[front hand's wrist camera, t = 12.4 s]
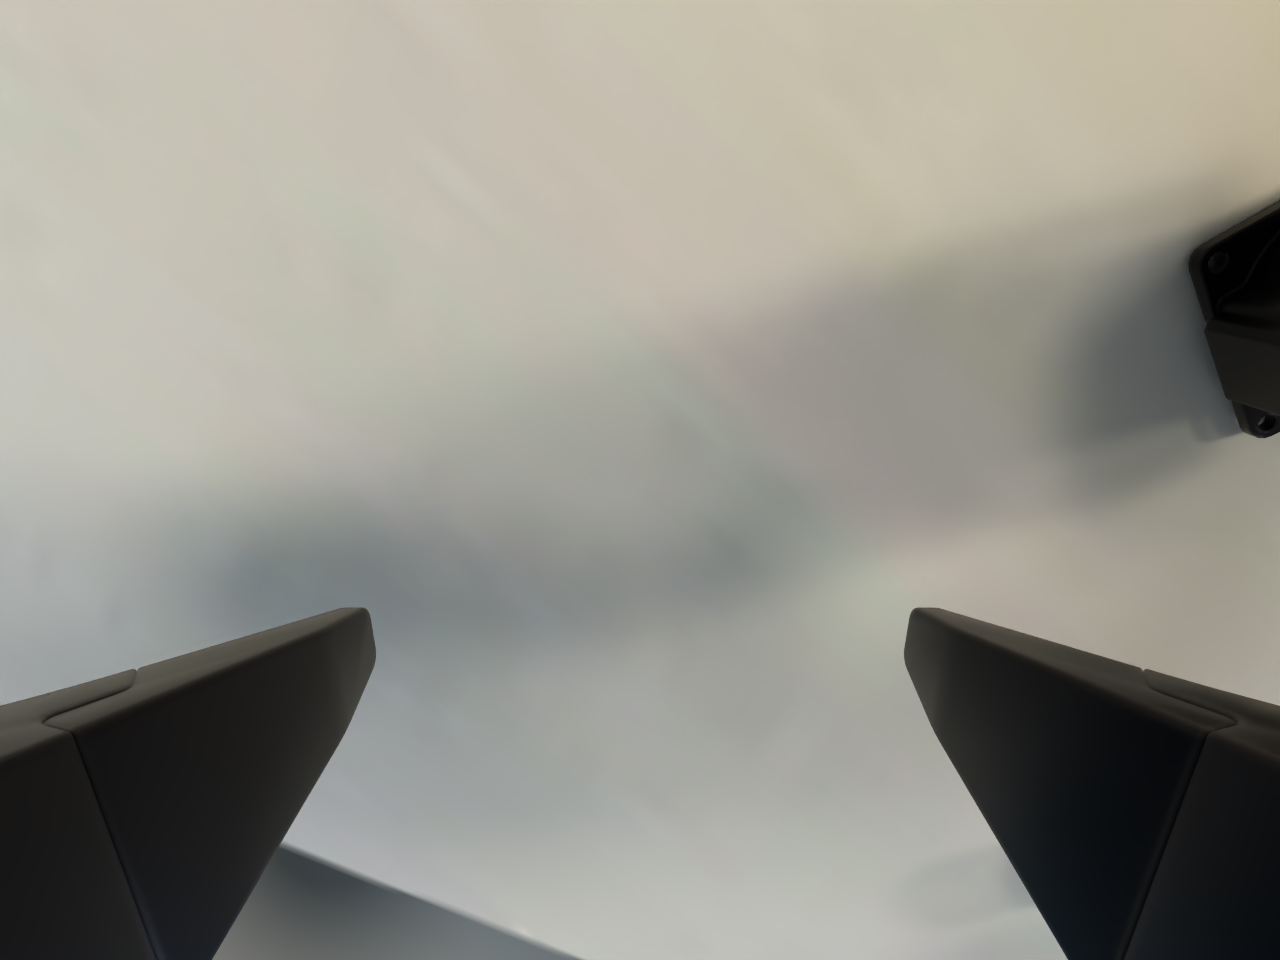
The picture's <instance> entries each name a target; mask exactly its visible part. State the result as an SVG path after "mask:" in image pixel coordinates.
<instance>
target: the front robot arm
mask: <svg viewBox="0 0 1280 960" xmlns="http://www.w3.org/2000/svg"><path fill="white" fill-rule="evenodd" d="M1214 254H1215V255H1216V261H1215V263H1214V265H1213V266H1212V267H1211V268H1209V267H1208V261H1209V259H1210V257H1211V256H1212V255H1214ZM1189 271H1190V274H1191V277H1192V281H1193V284H1194V287H1195V290H1196V293H1197V296H1198V299H1199V302H1200V305H1201V308H1202V311H1203V315H1204V318H1205V321H1206V325H1205V330H1204V332H1205V335H1206V338H1207V341H1208V344H1209V348H1210V351H1211V354H1212V357H1213V360H1214V363H1215V366H1216V369H1217V372H1218V375H1219V378H1220V381H1221V384H1222V387H1223V390H1224V394H1225V396H1226V398H1227V399H1229V400H1231V401H1232V404H1233V407H1234V410H1235V414H1236V417H1237V420H1238V423H1239V426H1240V428H1241V430H1242V431H1243V432H1245V433H1247V434H1249V435H1252V436H1255V437H1257V438H1266V437H1269V436H1272V435H1274V434H1276V433H1278V432H1280V202H1278V203H1276V204H1274V205H1273V206H1271V207H1269V208H1267V209H1265V210H1264V211H1262V212H1260V213H1258V214H1256V215H1255V216H1253V217H1251V218H1249V219H1247V220H1246V221H1244V222H1242V223H1240V224H1238V225H1237V226H1235V227H1233V228H1231V229H1229V230H1228V231H1226V232H1224V233H1222V234H1220V235H1219V236H1217V237H1215V238H1213V239H1211V240H1210V241H1208V242H1206V243H1204V244H1202V245H1201V246H1200V247H1198V248H1197V249H1196V250H1195V251H1194V253H1193V254H1192V255H1191V257H1190V261H1189ZM1264 416H1265V419H1264V421H1263V423H1261V424H1260V425H1259V426H1258V423H1259V421H1260V419H1261V418H1262V417H1264ZM375 659H376V648H375V642H374V636H373V630H372V624H371V618H370V614H369V612H368V610H367V609H365V608H340V609H337V610H333V611H330V612H327V613H323V614H320V615H316V616H313V617H310V618H306V619H303V620H300V621H296V622H293V623H289V624H286V625H283V626H279V627H276V628H273V629H269V630H266V631H262V632H259V633H256V634H252V635H249V636H246V637H242V638H239V639H235V640H232V641H229V642H225V643H222V644H218V645H215V646H212V647H208V648H205V649H202V650H198V651H195V652H191V653H188V654H185V655H181V656H178V657H175V658H171V659H168V660H164V661H161V662H158V663H154V664H151V665H148V666H144V667H141V668H139V669H138V670H137V671H136V670H135V669H131V670H128V671H124V672H121V673H117V674H114V675H111V676H107V677H104V678H100V679H97V680H93V681H90V682H86V683H83V684H79V685H76V686H72V687H69V688H65V689H61V690H58V691H54V692H50V693H47V694H43V695H39V696H36V697H32V698H28V699H25V700H21V701H17V702H13V703H10V704H6V705H2V706H0V960H212V959H213V957H214V955H215V953H216V952H217V950H218V948H219V947H220V945H221V943H222V942H223V940H224V938H225V937H226V935H227V933H228V931H229V930H230V928H231V926H232V925H233V923H234V921H235V920H236V918H237V916H238V914H239V913H240V911H241V909H242V908H243V906H244V904H245V903H246V901H247V899H248V897H249V896H250V894H251V892H252V891H253V889H254V887H255V886H256V884H257V882H258V881H259V879H260V877H261V875H262V874H263V872H264V870H265V869H266V867H267V865H268V864H269V862H270V860H271V858H272V857H273V855H274V853H275V852H276V850H277V848H278V847H279V845H280V843H281V841H282V840H283V838H284V836H285V835H286V833H287V831H288V830H289V828H290V826H291V825H292V823H293V821H294V819H295V818H296V816H297V814H298V813H299V811H300V809H301V808H302V806H303V804H304V802H305V801H306V799H307V797H308V796H309V794H310V792H311V791H312V789H313V787H314V785H315V784H316V782H317V780H318V779H319V777H320V775H321V774H322V772H323V770H324V768H325V767H326V765H327V763H328V762H329V760H330V758H331V757H332V755H333V753H334V751H335V750H336V748H337V746H338V745H339V743H340V741H341V739H342V738H343V736H344V734H345V732H346V730H347V728H348V726H349V724H350V722H351V719H352V717H353V715H354V712H355V710H356V708H357V705H358V703H359V701H360V698H361V696H362V694H363V691H364V689H365V686H366V684H367V682H368V679H369V677H370V675H371V672H372V670H373V668H374V665H375ZM904 659H905V665H906V668H907V670H908V672H909V675H910V677H911V679H912V682H913V684H914V687H915V689H916V691H917V694H918V696H919V698H920V701H921V703H922V705H923V708H924V710H925V712H926V715H927V717H928V719H929V722H930V724H931V726H932V728H933V730H934V732H935V734H936V736H937V738H938V739H939V741H940V743H941V745H942V746H943V748H944V750H945V752H946V753H947V755H948V757H949V758H950V760H951V762H952V763H953V765H954V767H955V768H956V770H957V772H958V774H959V775H960V777H961V779H962V780H963V782H964V784H965V785H966V787H967V789H968V791H969V792H970V794H971V796H972V797H973V799H974V801H975V802H976V804H977V806H978V808H979V809H980V811H981V813H982V814H983V816H984V818H985V819H986V821H987V823H988V825H989V826H990V828H991V830H992V831H993V833H994V835H995V836H996V838H997V840H998V841H999V843H1000V845H1001V847H1002V848H1003V850H1004V852H1005V853H1006V855H1007V857H1008V858H1009V860H1010V862H1011V864H1012V865H1013V867H1014V869H1015V870H1016V872H1017V874H1018V875H1019V877H1020V879H1021V881H1022V882H1023V884H1024V886H1025V887H1026V889H1027V891H1028V892H1029V894H1030V896H1031V898H1032V899H1033V901H1034V903H1035V904H1036V906H1037V908H1038V909H1039V911H1040V913H1041V915H1042V916H1043V918H1044V920H1045V921H1046V923H1047V925H1048V926H1049V928H1050V930H1051V931H1052V933H1053V935H1054V937H1055V938H1056V940H1057V942H1058V943H1059V945H1060V947H1061V948H1062V950H1063V952H1064V954H1065V955H1066V957H1067V959H1068V960H1280V706H1278V705H1274V704H1270V703H1267V702H1263V701H1259V700H1255V699H1252V698H1248V697H1244V696H1241V695H1237V694H1233V693H1230V692H1226V691H1222V690H1219V689H1215V688H1211V687H1208V686H1204V685H1201V684H1197V683H1194V682H1190V681H1187V680H1183V679H1180V678H1176V677H1173V676H1169V675H1166V674H1163V673H1159V672H1156V671H1152V670H1149V669H1145V670H1144V671H1143V670H1142V669H1141V668H1139V667H1136V666H1132V665H1129V664H1126V663H1122V662H1119V661H1116V660H1112V659H1109V658H1105V657H1102V656H1099V655H1095V654H1092V653H1089V652H1085V651H1082V650H1078V649H1075V648H1072V647H1068V646H1065V645H1062V644H1058V643H1055V642H1051V641H1048V640H1045V639H1041V638H1038V637H1034V636H1031V635H1028V634H1024V633H1021V632H1018V631H1014V630H1011V629H1007V628H1004V627H1001V626H997V625H994V624H991V623H987V622H984V621H980V620H977V619H974V618H970V617H967V616H964V615H960V614H957V613H953V612H950V611H947V610H943V609H940V608H915V609H913V610H912V612H911V614H910V618H909V624H908V630H907V636H906V642H905V648H904Z"/></svg>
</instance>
